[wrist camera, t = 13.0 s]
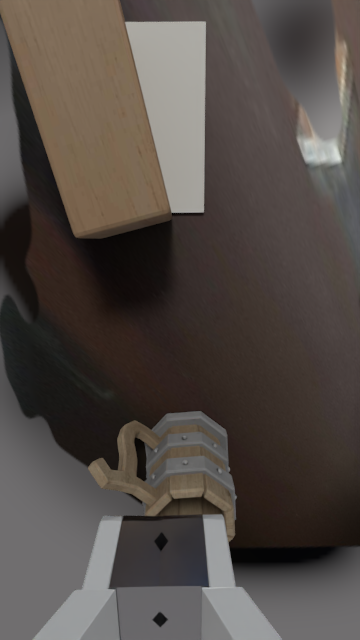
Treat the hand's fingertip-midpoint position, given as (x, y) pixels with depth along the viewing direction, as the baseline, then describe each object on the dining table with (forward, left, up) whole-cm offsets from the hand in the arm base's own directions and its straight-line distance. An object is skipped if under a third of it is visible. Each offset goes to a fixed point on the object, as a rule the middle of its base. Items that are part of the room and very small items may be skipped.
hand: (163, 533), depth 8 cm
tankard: (-18, +14, -35) cm, 42 cm away
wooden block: (+10, -1, -30) cm, 31 cm away
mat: (+19, -9, -35) cm, 41 cm away
